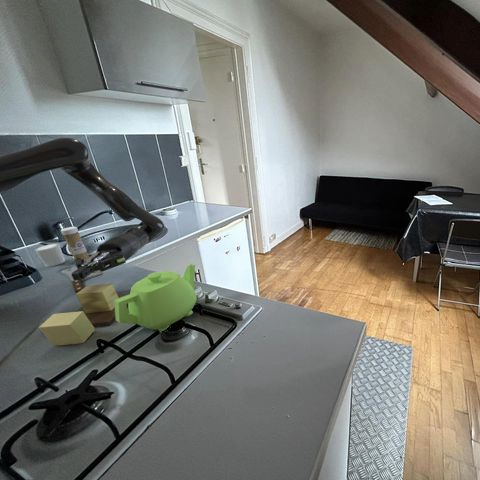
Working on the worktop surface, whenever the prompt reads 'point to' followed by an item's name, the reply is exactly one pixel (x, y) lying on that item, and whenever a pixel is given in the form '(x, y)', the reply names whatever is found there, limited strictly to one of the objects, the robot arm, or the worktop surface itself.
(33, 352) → the worktop surface
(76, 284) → the kitchen cleaver
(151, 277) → the teapot
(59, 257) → the white squat cylinder
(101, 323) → the butter board
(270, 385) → the worktop surface
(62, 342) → the block
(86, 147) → the robot arm
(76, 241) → the sprinkles bottle
